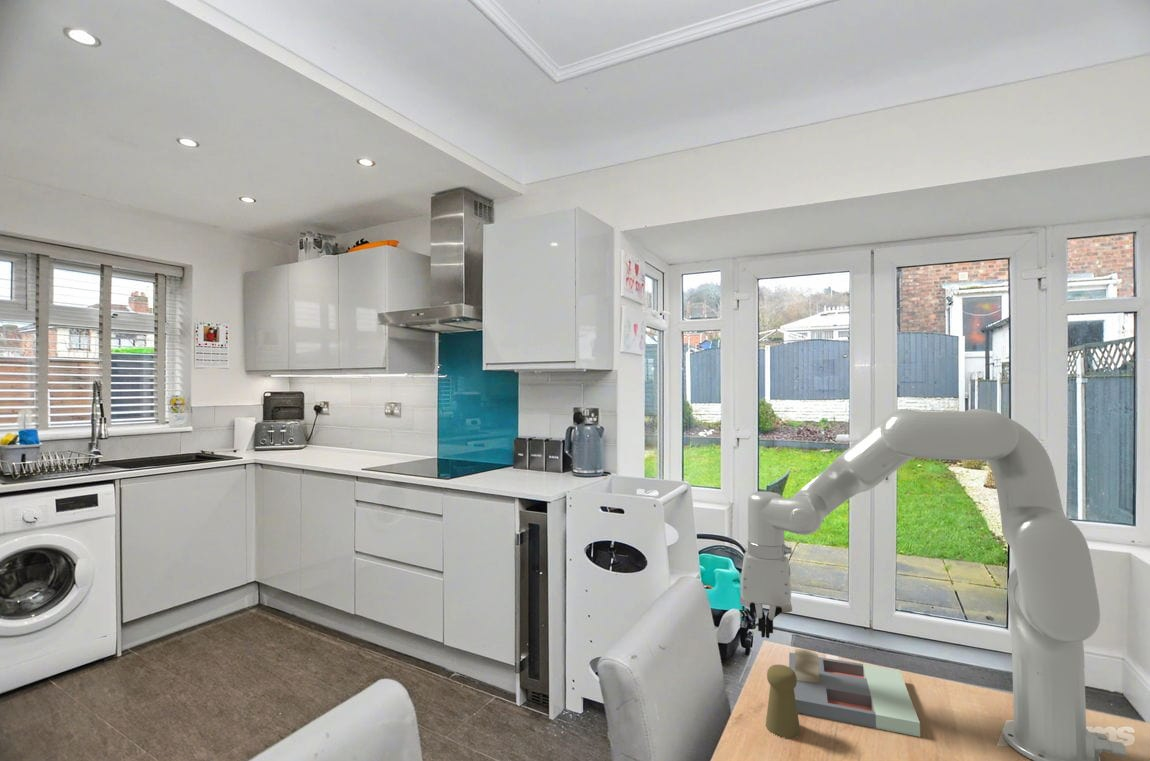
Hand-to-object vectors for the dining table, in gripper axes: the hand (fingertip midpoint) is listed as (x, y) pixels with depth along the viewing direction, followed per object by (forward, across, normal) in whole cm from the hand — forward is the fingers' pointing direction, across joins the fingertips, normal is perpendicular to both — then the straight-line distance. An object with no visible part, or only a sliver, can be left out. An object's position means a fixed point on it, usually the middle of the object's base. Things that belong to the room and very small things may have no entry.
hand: (765, 635), depth 117 cm
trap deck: (+10, -16, 0) cm, 18 cm away
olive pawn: (+10, -4, +16) cm, 19 cm away
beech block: (+7, -8, 0) cm, 11 cm away
